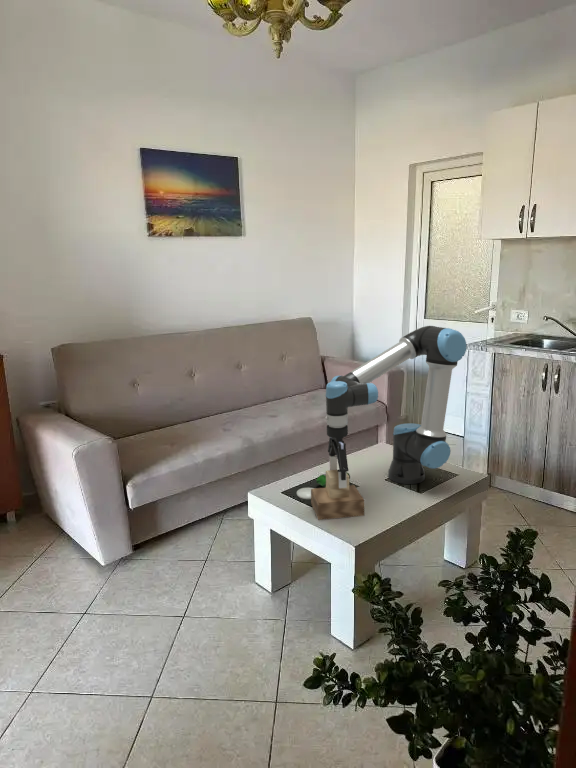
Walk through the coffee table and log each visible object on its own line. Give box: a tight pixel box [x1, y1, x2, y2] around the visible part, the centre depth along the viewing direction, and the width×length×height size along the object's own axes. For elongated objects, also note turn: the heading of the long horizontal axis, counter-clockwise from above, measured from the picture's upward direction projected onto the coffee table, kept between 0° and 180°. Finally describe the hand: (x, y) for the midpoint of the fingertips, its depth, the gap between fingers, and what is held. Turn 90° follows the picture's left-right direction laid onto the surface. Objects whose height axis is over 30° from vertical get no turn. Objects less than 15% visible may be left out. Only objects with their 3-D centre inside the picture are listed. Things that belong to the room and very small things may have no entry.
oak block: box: [325, 469, 350, 499], centre depth 194 cm, size 7×7×8 cm
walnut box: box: [310, 484, 365, 521], centre depth 196 cm, size 17×13×6 cm
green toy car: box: [315, 472, 351, 488], centre depth 218 cm, size 7×16×5 cm, turn 126°
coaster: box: [296, 487, 315, 500], centre depth 210 cm, size 9×9×1 cm
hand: (337, 479), depth 194 cm, fingers open, 13 cm apart
